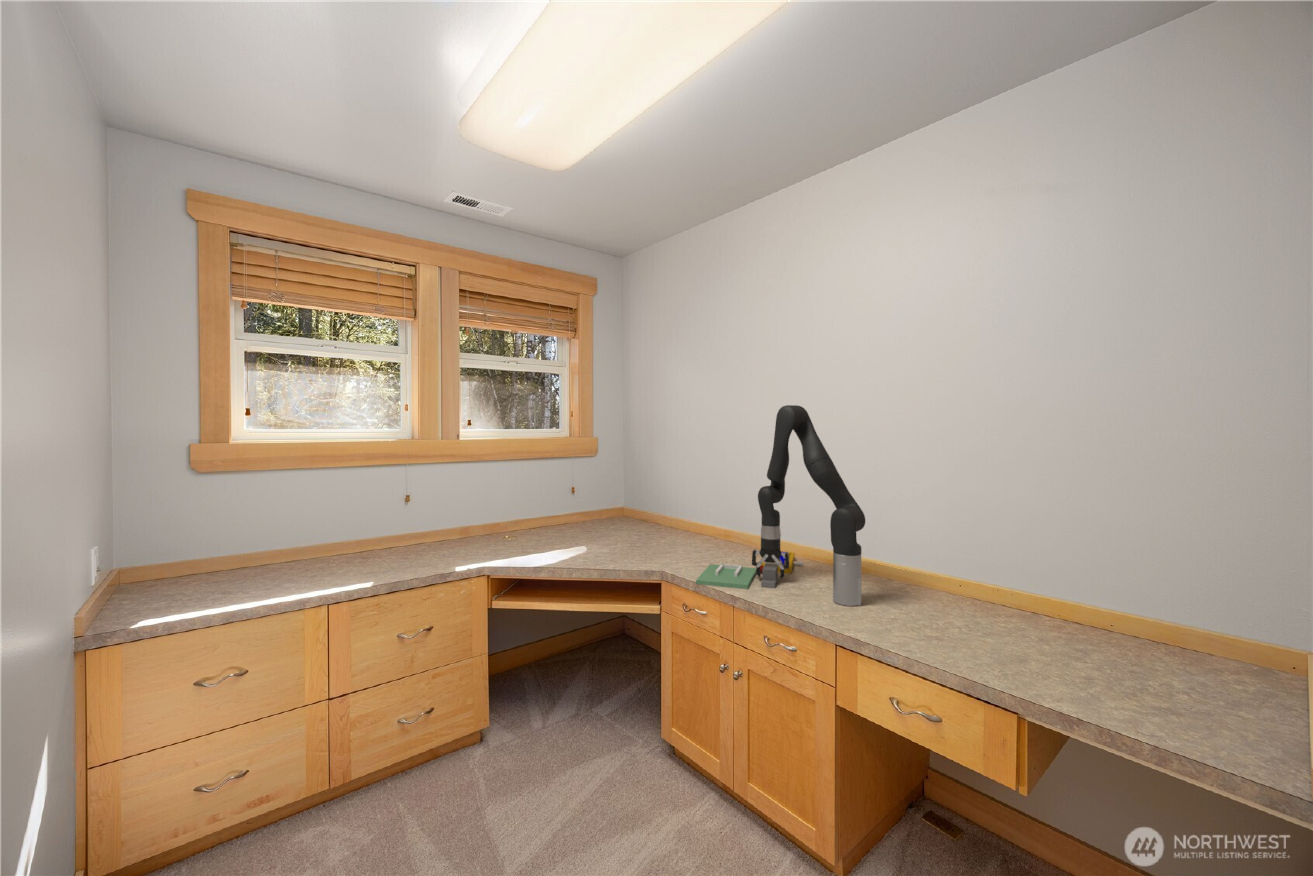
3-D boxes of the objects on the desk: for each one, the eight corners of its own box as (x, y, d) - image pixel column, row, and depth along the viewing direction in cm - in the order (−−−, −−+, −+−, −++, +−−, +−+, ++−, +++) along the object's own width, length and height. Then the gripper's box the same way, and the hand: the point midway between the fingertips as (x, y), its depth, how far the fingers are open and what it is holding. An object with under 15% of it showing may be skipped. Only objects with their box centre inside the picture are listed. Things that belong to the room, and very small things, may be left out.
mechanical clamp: (755, 560, 219) (764, 543, 247) (755, 575, 219) (764, 557, 247) (801, 563, 213) (804, 546, 241) (801, 579, 213) (804, 560, 242)
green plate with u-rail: (756, 571, 221) (757, 564, 221) (747, 589, 199) (747, 581, 199) (710, 567, 228) (710, 560, 228) (695, 583, 205) (695, 576, 205)
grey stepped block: (765, 577, 213) (765, 562, 213) (778, 578, 212) (778, 563, 212) (761, 587, 201) (761, 571, 201) (774, 588, 199) (774, 572, 199)
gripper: (750, 537, 206) (750, 578, 207) (788, 539, 201) (788, 582, 202) (753, 533, 213) (753, 573, 214) (790, 535, 208) (789, 576, 209)
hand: (770, 577), depth 208 cm, fingers open, 8 cm apart
